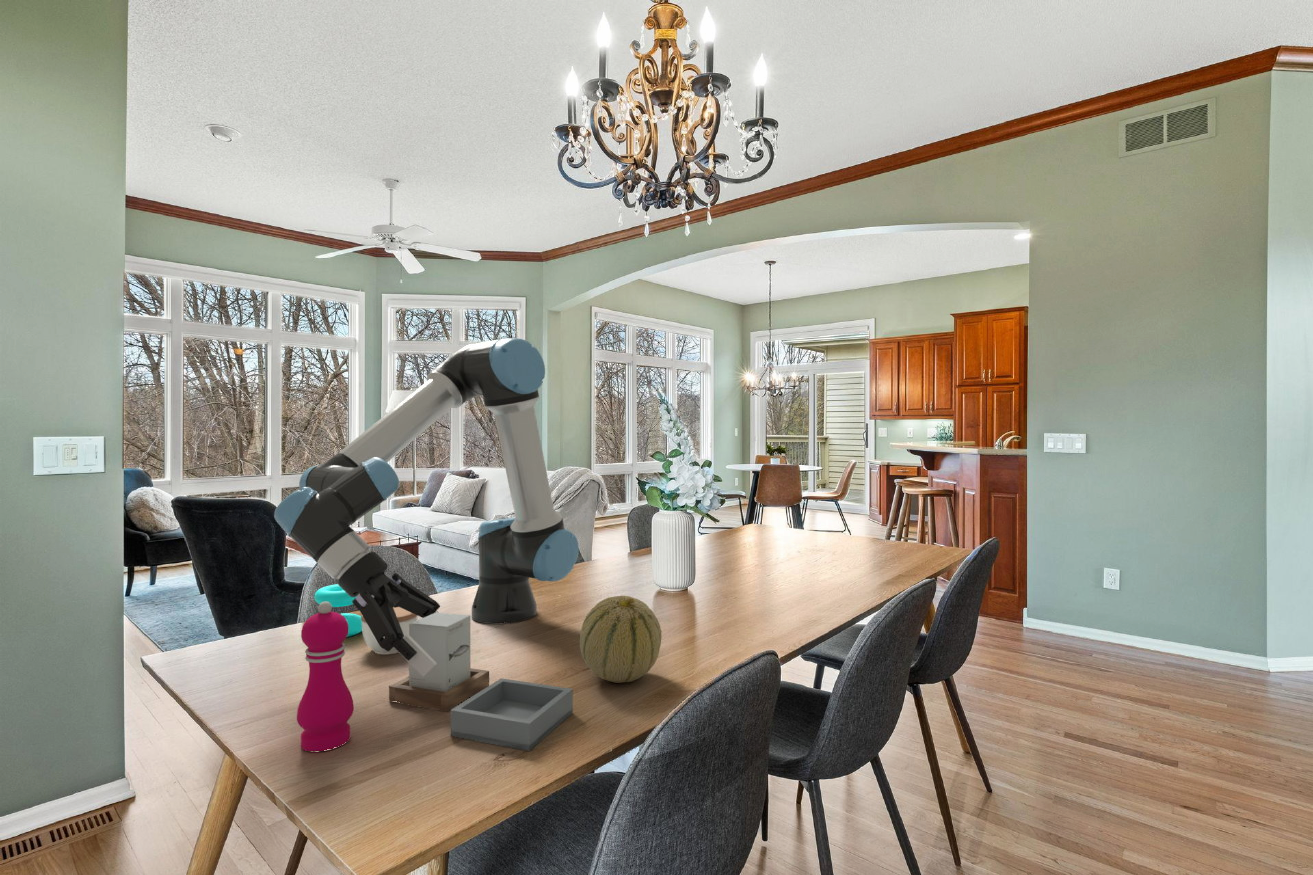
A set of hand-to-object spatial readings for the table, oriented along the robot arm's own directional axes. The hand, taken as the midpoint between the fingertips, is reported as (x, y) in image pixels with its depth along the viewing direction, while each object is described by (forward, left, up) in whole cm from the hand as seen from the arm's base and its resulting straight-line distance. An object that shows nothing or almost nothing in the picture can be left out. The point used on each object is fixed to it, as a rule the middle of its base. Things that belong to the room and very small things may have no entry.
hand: (444, 655), depth 111 cm
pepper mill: (+20, -5, -7) cm, 22 cm away
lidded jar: (-15, -25, -7) cm, 30 cm away
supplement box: (0, -1, -7) cm, 7 cm away
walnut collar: (0, -1, -6) cm, 6 cm away
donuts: (-20, -43, -7) cm, 48 cm away
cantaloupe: (-16, +25, -7) cm, 31 cm away
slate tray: (+6, +17, -6) cm, 19 cm away
